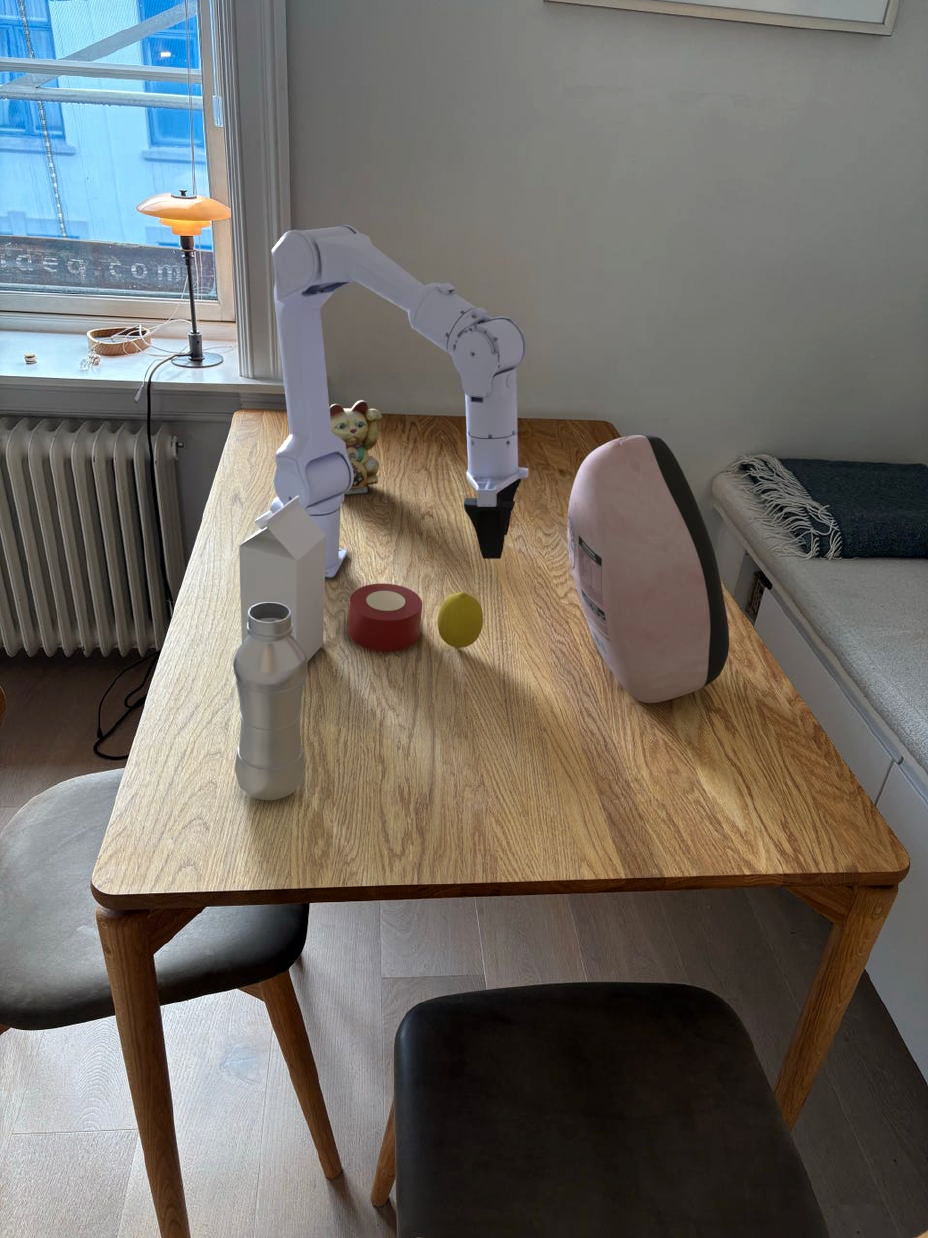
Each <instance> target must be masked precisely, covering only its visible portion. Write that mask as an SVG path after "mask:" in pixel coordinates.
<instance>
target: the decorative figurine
mask: <svg viewBox="0 0 928 1238" xmlns="http://www.w3.org/2000/svg"><path fill="white" fill-rule="evenodd" d="M329 407H330V418H331V428H332V433H333V434H335V435H336V436H337V437H339V438H340V439H342V440H343V441H344V442H345V443H346V452H347V456H348V459H349V461H350V463H351V465H352V468H353V473H354V480H353V484H352V487H351V488H350V489H349V490H348V491H347V492H345V493H344V495H354V494H355V495H356V494H364V493H368V490H369V489H368V486H371V485H372V486H373V485H377V484H379V478H378V475H377V474H378V472H379V469H380V464H379V460H378V459H377V458H376V457H374V456H373V455H370V454H369V451H370V450H372V449H373V448H374V447H375V446H376V445H377V443H378V441H379V440H378V439H379V431H378V427H377V426H378V425H377V422H379V421H380V420H382V418H383V416H382V413H381V412H380V411H379V410H378V409H376V408H369V405H368V403H367V401H365V400H364V399H363V400H362V399H360V400H357V401H356V402H355V403H354V404H353V406H352V407H351V408H348V407H347V408H343V406H342V405H341V404H339V403H333V404H331V405H330V406H329Z"/></svg>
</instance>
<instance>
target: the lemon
mask: <svg viewBox="0 0 928 1238" xmlns="http://www.w3.org/2000/svg"><path fill="white" fill-rule="evenodd" d="M436 624H437V629H438V630H437V631H438V633H439V636H440V638H441V639H442V640H443V642H444V643H445V644H447V645H448V646H450V647H451V648H452V647H453V648H454V649H456V650H460V649H463V648H467V647H469V646H471V645H473V644H474V643H475V642H477V640H478V639H479V637H480V635H481V633H482V630H483V625H484V613H483V608H482V605H481V603H480V602H479V600H478V599H477V598H476V596H474V595H472V594H470V593H467V592H466V591H460V592H459V591H458V592H454V593H452V594H450V595H448V596H447V597H446V599H444V601H442V603H441V606H440V608H439V611H438V615H437V623H436Z"/></svg>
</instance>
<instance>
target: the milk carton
mask: <svg viewBox="0 0 928 1238" xmlns="http://www.w3.org/2000/svg"><path fill="white" fill-rule="evenodd" d="M254 524H255V525H256V526H257V527H258V529H259V530H257V531H256V532H254V533H253V534H252V535H251V536H249V537H248V538H247V539H245V540H244V541H243V542H242V543H240V544H239V545H238V546H239V548H238V549H239V551H238V553H239V554H238V556H239V558H238V559H239V591H240V592H239V594H240V595H239V596H240V597H239V599H240V631H241V633H240V637H241V644H242V643H243V641H244V640H245V639H246V638H247V637H248V636H249V633H248V631H247V624H248V610H249V609H250V608H251V607H252V606H253V605H255V604H258V603H263V602H276V603H280V604H283V605H286V606H287V607H288V608H289V609H290V611H291V622H292V628H293V630H292V633H291V635H292V636H293V637H294V638H295V639H296V640H297V641H298V643H299V644H300V645H301V646H302V648H303V649H304V651H305V654H306V657H307V662H309V661H311V659H312V657H313V656H314V655H315V654H316V653H317V652H318V651H319V650H321V648H322V647H323V645H324V625H325V624H324V623H325V589H326V588H325V587H326V585H325V581H326V577H325V551H326V534H325V533H324V532H323V531H322V530H321V528H320V527H319V526H318V525H317V524H316V523H315V522H314V521H313V519H312V518H311V517H310V516H309V515H308V514H307V513H306V512H305V510H304V509H303V508H302V507H301V506H300V505H299V496H296V497H295V498H293V499H292V500H291V501H289V502H288V503H287V504H285V505H284V506H283V507H282V508H280V509H279V510H278V511H276V512H275V513H274V514H273V513H272V512H271V511H270V510H269V511H267V512H264V514H262V515H260V516H258V517H257V518H256V519H255V520H254Z"/></svg>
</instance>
